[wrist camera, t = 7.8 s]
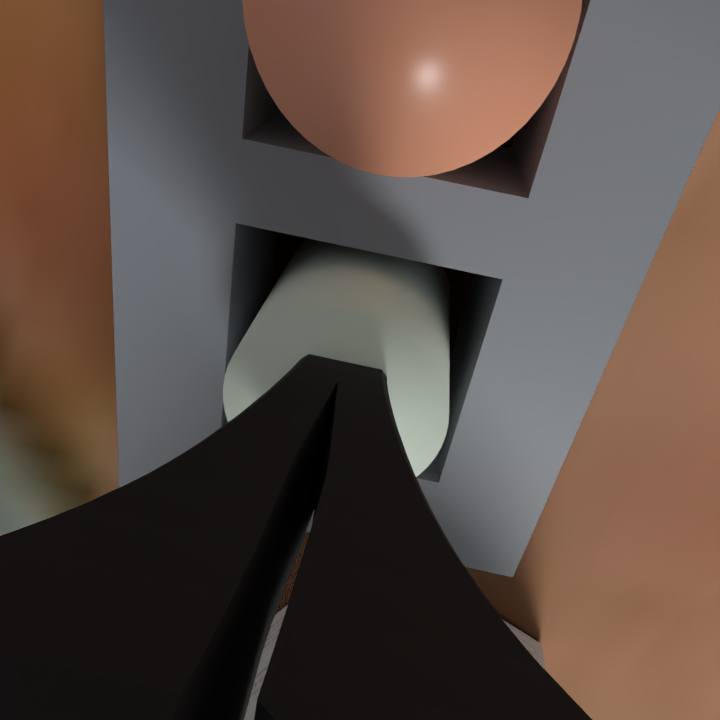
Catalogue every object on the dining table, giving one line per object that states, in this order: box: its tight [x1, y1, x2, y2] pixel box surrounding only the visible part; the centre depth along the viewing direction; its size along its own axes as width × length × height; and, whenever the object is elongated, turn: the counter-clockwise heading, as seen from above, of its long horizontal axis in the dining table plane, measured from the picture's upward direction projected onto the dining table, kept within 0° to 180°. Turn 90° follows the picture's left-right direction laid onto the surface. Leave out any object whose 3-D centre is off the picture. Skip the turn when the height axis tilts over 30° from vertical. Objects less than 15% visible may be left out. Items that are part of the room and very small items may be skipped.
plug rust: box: [242, 0, 582, 177], centre depth 9 cm, size 4×4×5 cm
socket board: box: [103, 0, 720, 577], centre depth 10 cm, size 9×21×4 cm, turn 170°
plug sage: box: [223, 238, 450, 477], centre depth 13 cm, size 4×4×5 cm
